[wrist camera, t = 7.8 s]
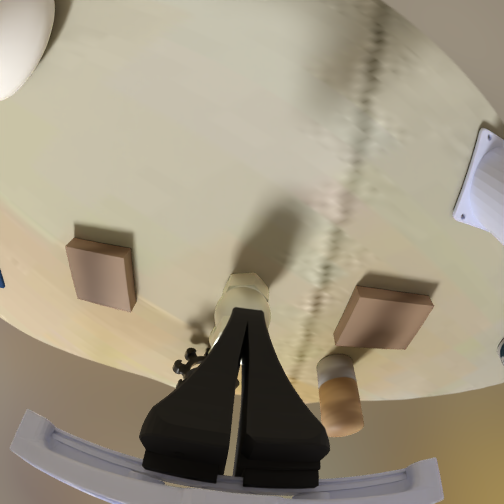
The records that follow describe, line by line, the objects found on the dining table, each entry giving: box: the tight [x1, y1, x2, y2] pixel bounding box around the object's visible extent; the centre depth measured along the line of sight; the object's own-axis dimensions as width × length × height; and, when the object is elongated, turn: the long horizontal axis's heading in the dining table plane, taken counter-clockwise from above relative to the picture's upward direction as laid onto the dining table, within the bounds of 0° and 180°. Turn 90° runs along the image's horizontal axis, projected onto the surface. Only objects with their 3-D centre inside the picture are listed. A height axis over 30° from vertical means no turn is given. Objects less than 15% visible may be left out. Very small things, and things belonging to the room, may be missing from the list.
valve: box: [173, 273, 271, 389], centre depth 24 cm, size 7×7×12 cm
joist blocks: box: [65, 238, 434, 350], centre depth 24 cm, size 33×6×2 cm, turn 81°
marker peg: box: [317, 354, 364, 437], centre depth 26 cm, size 4×4×8 cm
